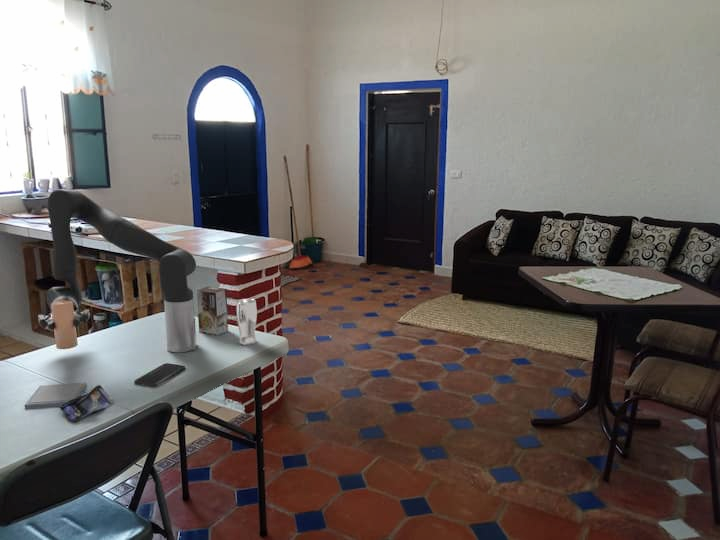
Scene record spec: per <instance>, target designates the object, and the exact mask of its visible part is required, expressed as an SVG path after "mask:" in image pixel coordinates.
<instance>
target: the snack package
mask: <svg viewBox="0 0 720 540" xmlns="http://www.w3.org/2000/svg"><path fill="white" fill-rule="evenodd" d="M86 392H87V391H84V394H82V395H81V396H79V397H77V398H76V399H72V400H70V401H68V402H67V403H65V404H63V405H62V406H59V408H60V410H61V411H62V412H63V413H64V415H65V416H66V418H67V419H68V421H70V422H73V423H78V422H79V421H81V420H82V419H83V418H85V417H87V416H89V415H90V414H91V413H93V412H96V411H99V410H100V408H99V407H105V406H108V407H109V406H111V405H112V404H113V403H114V399H112V398H111V397H110V396H111V395H110V394H108V393H107V392H106V391H105V389H104V388H103V386H102V385H100V384H98V385H95V387H93V388H91V390H90V391H89V392H87V393H86ZM95 408H96V409H95Z"/></svg>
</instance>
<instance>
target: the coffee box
mask: <svg viewBox="0 0 720 540" xmlns="http://www.w3.org/2000/svg"><path fill="white" fill-rule="evenodd" d="M227 295H228V293H227V288H221V287H215V286H214V287H213V286H204V287H202V288H199V289H197V290H196V302H197V303H196V304H197V316H198V317H197V318H198V332H199V331H200V332H199V333H203V332H206V333H205V334H209V333H211V334H210V335H214V334H216V335H215V336H220V335H222V334H224V333H227V332H228V331H229V319H228V318H229V316H228V298H227V297H228V296H227ZM221 333H222V334H221ZM219 334H220V335H219Z"/></svg>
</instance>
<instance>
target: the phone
mask: <svg viewBox="0 0 720 540" xmlns="http://www.w3.org/2000/svg"><path fill="white" fill-rule="evenodd" d="M186 368H187V367H186V366H185V365H181V364H176V363H170V362H169V363H163V364H161V365H159V366H157V367H155V368H154V369H152V370H151V371H149V372H147V373H145V374H144V375H142V376H140V377H138V378H136V379H135V380H134V382H133V383H134V385H135V386H142V387H148V388H152V389H153V388H157V387H160V386H161V385H163V384H164V383H166V382H168V381H169V380H171V379H172V378H174V377H176V376H177V375H179V374H181V373H182V372H185V370H186Z"/></svg>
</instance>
